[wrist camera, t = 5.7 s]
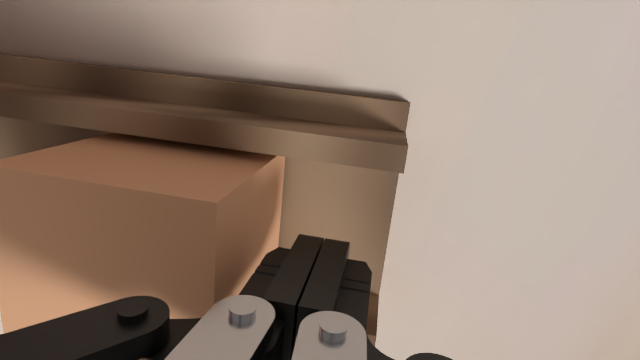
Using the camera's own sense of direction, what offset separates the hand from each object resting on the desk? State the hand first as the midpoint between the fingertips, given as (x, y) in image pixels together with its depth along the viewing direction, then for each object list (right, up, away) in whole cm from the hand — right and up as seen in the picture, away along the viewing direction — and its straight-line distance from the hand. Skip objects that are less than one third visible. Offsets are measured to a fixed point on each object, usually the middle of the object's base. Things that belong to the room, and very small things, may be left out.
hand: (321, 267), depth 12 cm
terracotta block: (-4, +2, +5) cm, 6 cm away
